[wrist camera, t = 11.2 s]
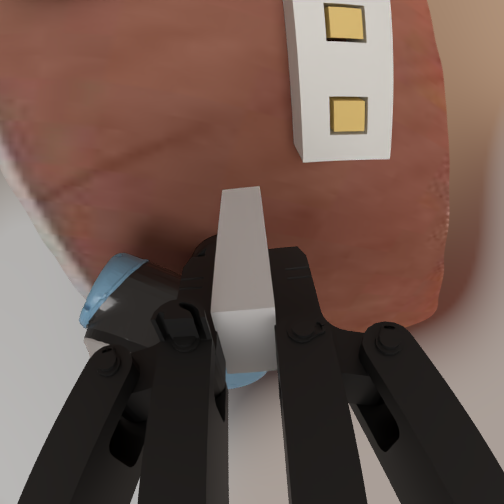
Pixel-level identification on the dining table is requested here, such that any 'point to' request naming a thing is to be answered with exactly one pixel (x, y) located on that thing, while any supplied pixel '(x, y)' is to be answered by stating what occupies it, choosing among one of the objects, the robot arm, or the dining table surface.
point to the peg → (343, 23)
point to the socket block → (340, 80)
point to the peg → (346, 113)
